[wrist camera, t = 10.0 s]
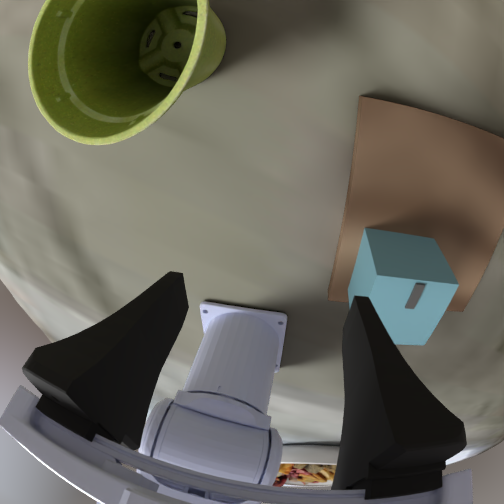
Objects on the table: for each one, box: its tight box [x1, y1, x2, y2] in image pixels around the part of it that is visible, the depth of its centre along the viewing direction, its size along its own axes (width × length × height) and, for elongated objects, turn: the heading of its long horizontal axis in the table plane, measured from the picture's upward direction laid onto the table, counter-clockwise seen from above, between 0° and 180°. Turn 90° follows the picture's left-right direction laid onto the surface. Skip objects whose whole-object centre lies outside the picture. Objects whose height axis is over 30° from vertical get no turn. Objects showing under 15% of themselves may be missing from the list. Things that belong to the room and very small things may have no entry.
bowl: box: [272, 445, 340, 487], centre depth 48 cm, size 30×30×8 cm
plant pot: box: [28, 0, 226, 145], centre depth 11 cm, size 9×9×9 cm
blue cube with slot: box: [348, 228, 459, 345], centre depth 17 cm, size 5×5×5 cm
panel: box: [328, 96, 504, 312], centre depth 17 cm, size 15×13×1 cm
